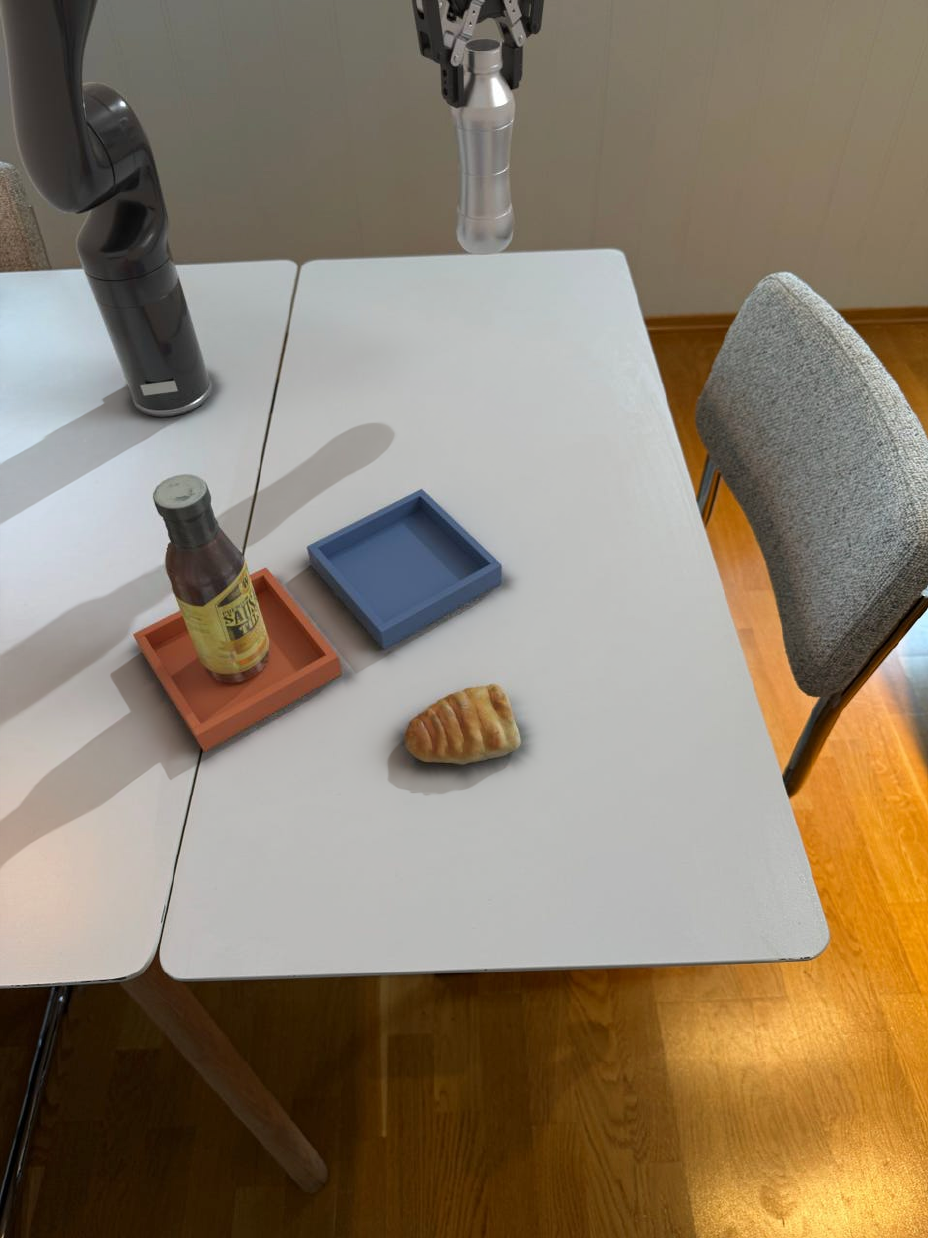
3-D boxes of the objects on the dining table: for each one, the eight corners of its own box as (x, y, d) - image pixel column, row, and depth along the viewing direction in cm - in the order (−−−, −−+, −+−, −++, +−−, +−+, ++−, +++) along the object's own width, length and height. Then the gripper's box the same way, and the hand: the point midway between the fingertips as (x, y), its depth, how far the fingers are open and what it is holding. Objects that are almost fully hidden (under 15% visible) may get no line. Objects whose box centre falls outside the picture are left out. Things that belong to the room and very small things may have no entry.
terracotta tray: (141, 651, 83) (132, 633, 81) (271, 584, 88) (266, 566, 86) (204, 752, 76) (196, 735, 74) (342, 673, 81) (338, 656, 79)
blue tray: (310, 564, 89) (306, 546, 87) (423, 506, 94) (421, 488, 92) (383, 650, 82) (380, 632, 80) (502, 582, 87) (502, 564, 85)
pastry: (418, 786, 73) (414, 761, 70) (396, 721, 77) (391, 695, 74) (526, 753, 75) (527, 727, 72) (499, 690, 79) (498, 664, 76)
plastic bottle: (525, 241, 101) (530, 38, 85) (494, 268, 97) (493, 62, 82) (476, 227, 103) (473, 27, 88) (444, 253, 99) (434, 50, 84)
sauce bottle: (259, 692, 79) (200, 530, 64) (193, 682, 80) (119, 520, 65) (283, 635, 83) (233, 469, 68) (220, 626, 84) (156, 461, 69)
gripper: (519, -144, 80) (516, 67, 93) (382, -115, 75) (400, 103, 87) (574, -129, 76) (563, 88, 89) (434, -98, 71) (444, 128, 84)
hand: (482, 95), depth 88 cm, fingers closed on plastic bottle, 6 cm apart
